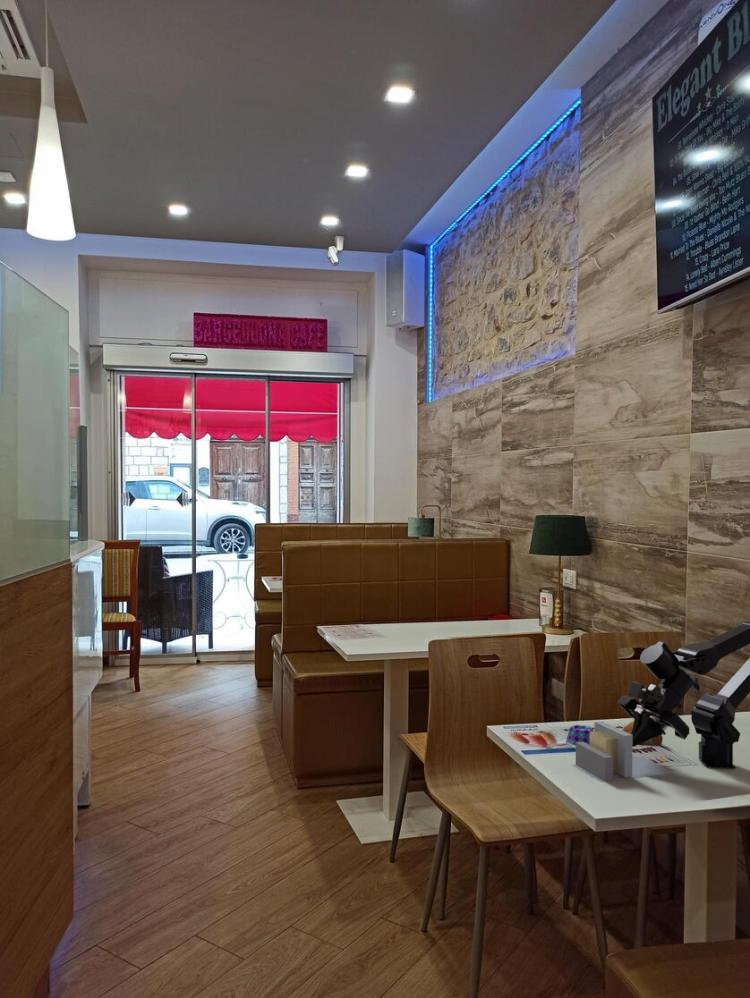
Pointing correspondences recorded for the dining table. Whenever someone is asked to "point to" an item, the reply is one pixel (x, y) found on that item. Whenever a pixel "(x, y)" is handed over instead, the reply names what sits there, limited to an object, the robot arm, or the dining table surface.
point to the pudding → (577, 735)
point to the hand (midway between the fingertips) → (630, 745)
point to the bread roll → (652, 741)
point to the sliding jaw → (620, 747)
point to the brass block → (605, 745)
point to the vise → (611, 764)
